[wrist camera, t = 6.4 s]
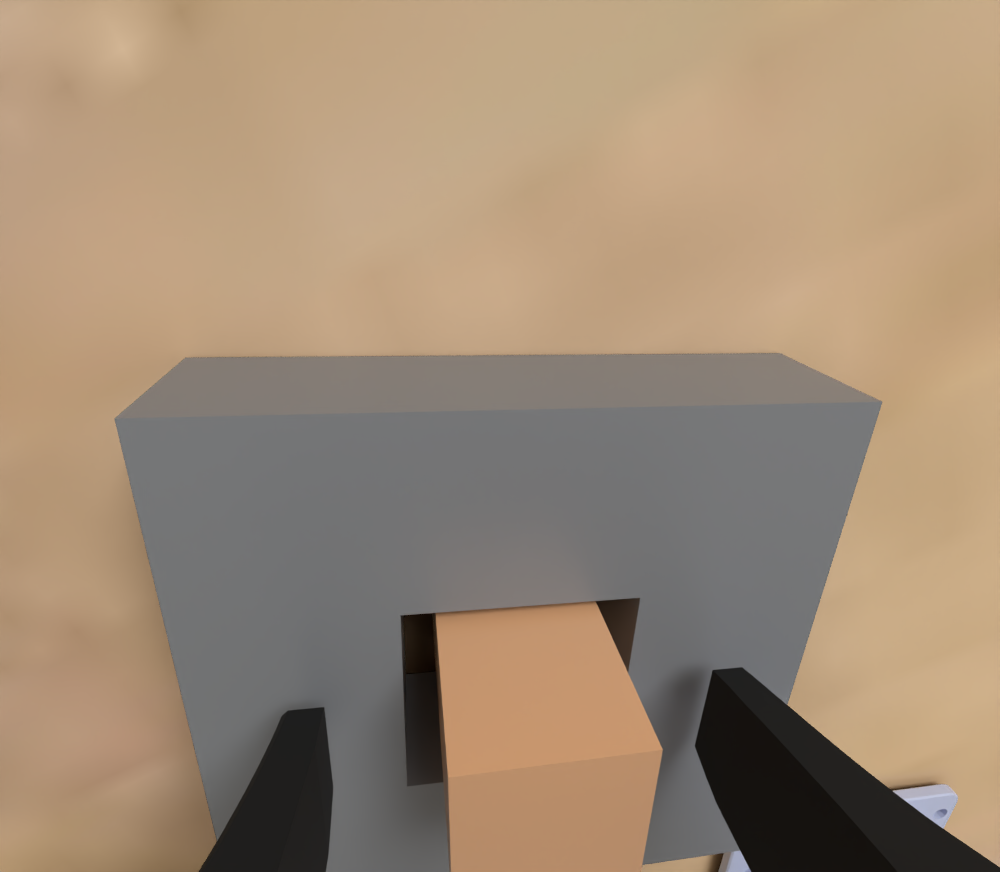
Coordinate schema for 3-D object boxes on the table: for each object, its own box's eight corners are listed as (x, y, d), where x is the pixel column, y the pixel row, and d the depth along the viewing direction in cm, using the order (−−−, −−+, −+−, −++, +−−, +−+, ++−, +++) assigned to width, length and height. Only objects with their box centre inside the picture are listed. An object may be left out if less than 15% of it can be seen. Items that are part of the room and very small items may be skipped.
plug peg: (553, 623, 15) (639, 881, 9) (433, 634, 14) (452, 911, 9) (559, 521, 14) (662, 749, 8) (429, 530, 13) (447, 777, 8)
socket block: (688, 745, 18) (741, 850, 15) (265, 795, 16) (237, 924, 13) (780, 353, 13) (882, 401, 10) (185, 357, 11) (114, 418, 8)
